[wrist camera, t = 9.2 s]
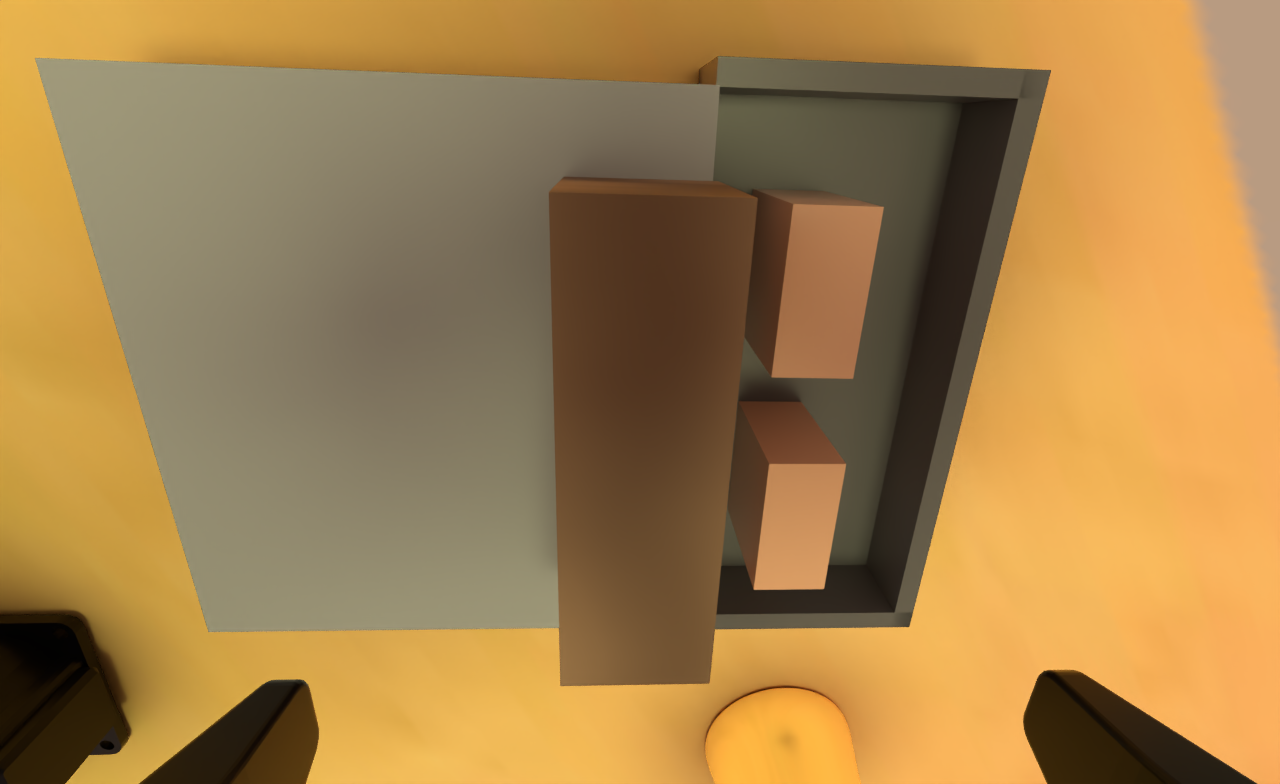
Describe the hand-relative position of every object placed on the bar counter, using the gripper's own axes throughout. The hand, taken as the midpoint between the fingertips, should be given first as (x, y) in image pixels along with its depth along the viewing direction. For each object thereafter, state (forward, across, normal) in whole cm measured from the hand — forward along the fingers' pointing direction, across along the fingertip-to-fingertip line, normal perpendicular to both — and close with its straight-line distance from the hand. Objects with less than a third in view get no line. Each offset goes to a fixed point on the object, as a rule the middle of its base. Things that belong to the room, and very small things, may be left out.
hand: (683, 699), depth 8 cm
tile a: (+10, -3, +3) cm, 11 cm away
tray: (+13, -5, 0) cm, 14 cm away
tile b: (+10, -3, -3) cm, 11 cm away
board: (+13, +6, 0) cm, 14 cm away
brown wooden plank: (+9, 0, 0) cm, 9 cm away
